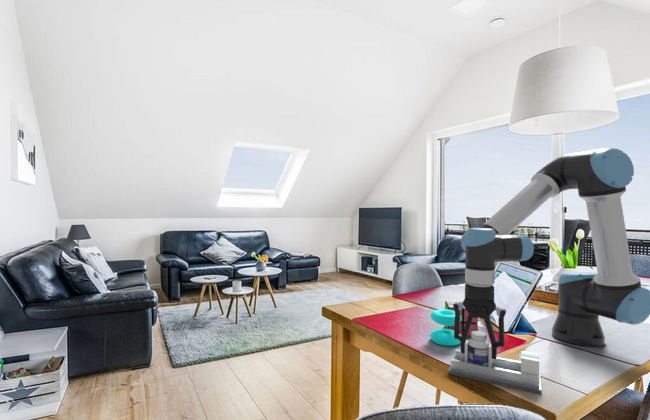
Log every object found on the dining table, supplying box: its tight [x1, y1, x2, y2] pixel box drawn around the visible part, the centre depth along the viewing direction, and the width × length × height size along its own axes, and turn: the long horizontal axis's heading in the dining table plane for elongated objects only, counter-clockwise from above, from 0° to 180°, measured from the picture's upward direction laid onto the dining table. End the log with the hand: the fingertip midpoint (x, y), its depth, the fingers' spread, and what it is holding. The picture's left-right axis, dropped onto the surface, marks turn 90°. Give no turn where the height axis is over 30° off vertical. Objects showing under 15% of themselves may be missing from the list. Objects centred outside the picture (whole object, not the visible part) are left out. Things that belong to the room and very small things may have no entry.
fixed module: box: [520, 350, 540, 376], centre depth 96 cm, size 4×6×6 cm
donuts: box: [429, 308, 462, 347], centre depth 124 cm, size 10×10×10 cm
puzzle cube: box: [444, 300, 479, 338], centre depth 134 cm, size 10×10×10 cm
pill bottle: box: [468, 330, 490, 366], centre depth 102 cm, size 5×5×10 cm
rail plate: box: [447, 349, 543, 395], centre depth 100 cm, size 22×11×4 cm, turn 62°
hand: (478, 367), depth 102 cm, fingers closed on pill bottle, 5 cm apart
